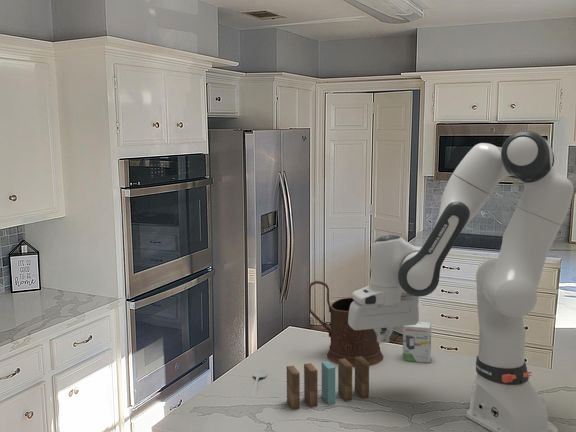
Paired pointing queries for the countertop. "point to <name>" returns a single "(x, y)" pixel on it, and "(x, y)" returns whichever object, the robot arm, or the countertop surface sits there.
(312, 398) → the domino
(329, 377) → the domino
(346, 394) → the domino
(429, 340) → the ink box
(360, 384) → the domino
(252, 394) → the spoon
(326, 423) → the countertop surface
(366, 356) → the brown pitcher
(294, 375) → the domino
